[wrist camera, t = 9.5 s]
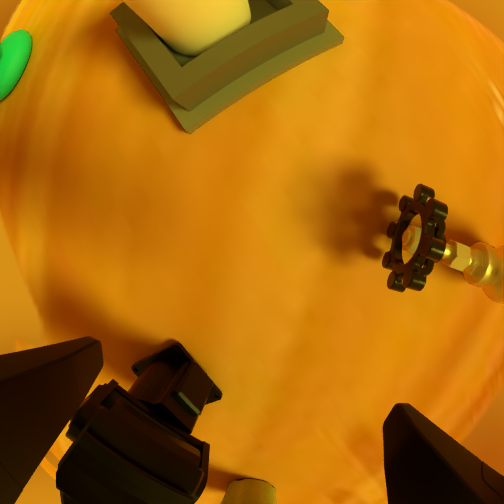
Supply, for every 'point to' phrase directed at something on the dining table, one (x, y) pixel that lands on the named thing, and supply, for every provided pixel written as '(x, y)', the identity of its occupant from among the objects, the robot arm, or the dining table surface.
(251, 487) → the plant pot
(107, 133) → the dining table surface
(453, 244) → the valve
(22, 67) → the donuts
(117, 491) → the robot arm
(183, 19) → the can
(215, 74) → the socket holder
